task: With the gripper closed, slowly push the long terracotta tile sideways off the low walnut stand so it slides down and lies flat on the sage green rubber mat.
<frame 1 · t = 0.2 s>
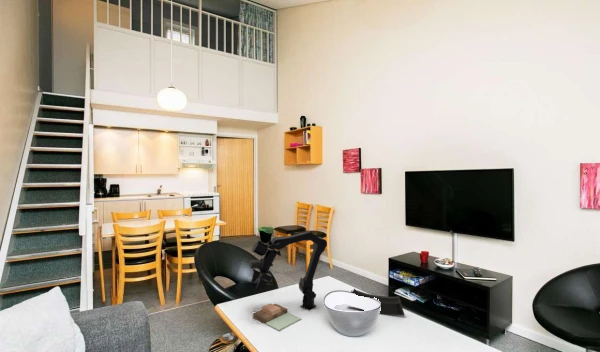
hand: (254, 286, 160), 14 cm above the table, tool tilted 30°, fingers open, 9 cm apart
green mat: (283, 321, 152), on the table
terracotta tile: (271, 311, 158), point 2 cm above the table, touching walnut stand
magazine: (374, 312, 165), on the table
walnut stand: (270, 315, 159), on the table
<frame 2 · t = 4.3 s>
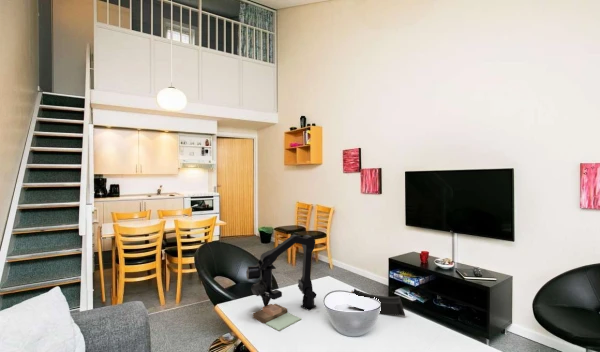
hand: (265, 306, 161), 3 cm above the table, tool pointing down, fingers closed
terracotta tile: (271, 311, 158), point 3 cm above the table, touching gripper, walnut stand
everything else where it was.
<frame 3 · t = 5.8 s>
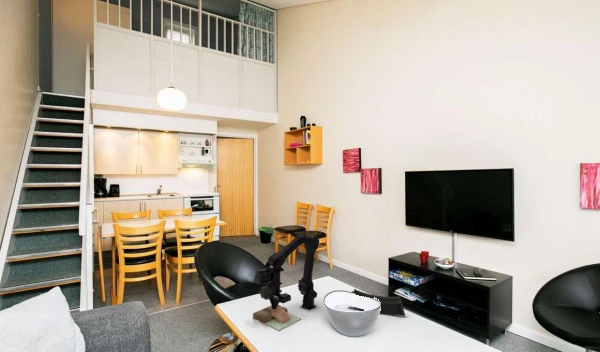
hand: (274, 310, 157), 3 cm above the table, tool pointing down, fingers closed
terracotta tile: (280, 316, 154), point 2 cm above the table, tilted 17°, touching green mat, gripper
everything else where it was.
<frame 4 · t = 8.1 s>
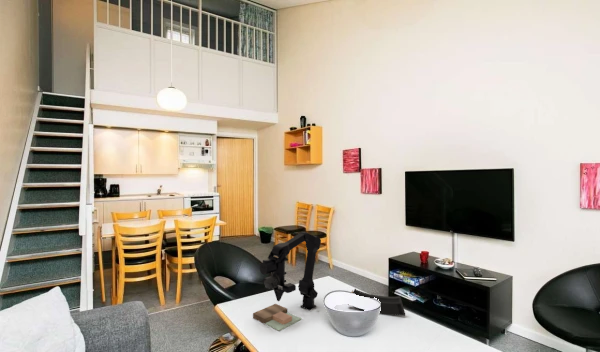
hand: (278, 300, 155), 9 cm above the table, tool pointing down, fingers closed
terracotta tile: (282, 319, 153), point 1 cm above the table, touching green mat
everything else where it was.
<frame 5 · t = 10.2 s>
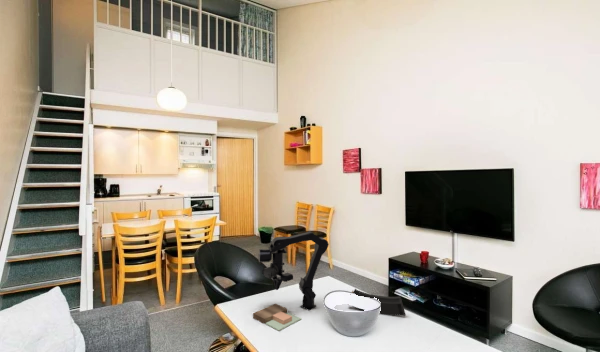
hand: (277, 289, 166), 11 cm above the table, tool pointing down, fingers closed
nothing on the table moved.
at the end: terracotta tile inside the target area (1.3 cm from its centre), point 0.6 cm above the table; terracotta tile tilted 0°; the gripper is holding nothing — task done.
